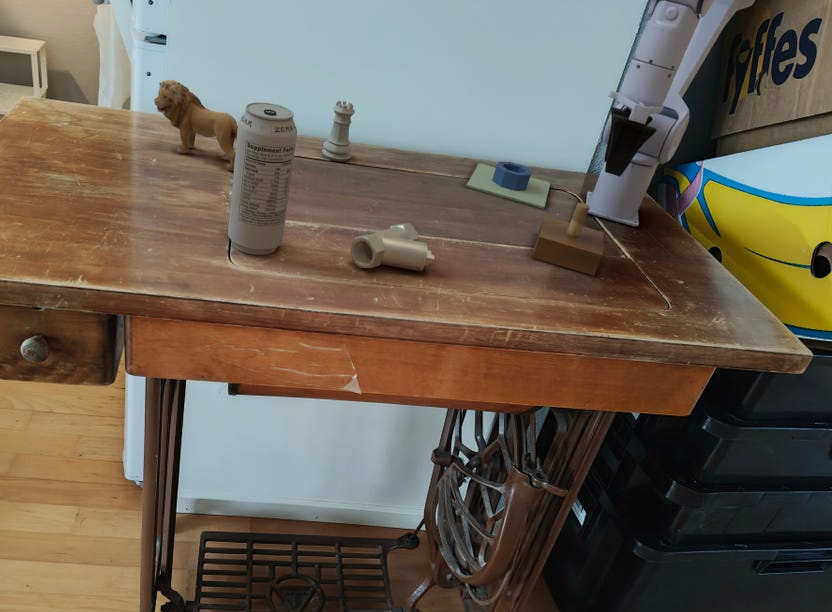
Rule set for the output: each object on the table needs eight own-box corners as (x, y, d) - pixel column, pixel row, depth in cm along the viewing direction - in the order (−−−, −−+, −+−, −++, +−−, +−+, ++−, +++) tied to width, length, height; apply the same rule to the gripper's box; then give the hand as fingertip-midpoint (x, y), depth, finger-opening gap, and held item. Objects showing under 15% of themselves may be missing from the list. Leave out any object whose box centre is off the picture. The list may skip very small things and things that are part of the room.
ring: (495, 173, 116) (499, 158, 115) (528, 183, 115) (533, 168, 114) (490, 183, 112) (495, 168, 110) (524, 193, 111) (529, 178, 109)
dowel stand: (537, 235, 99) (554, 186, 95) (595, 252, 98) (615, 204, 94) (531, 257, 92) (550, 206, 88) (594, 276, 91) (615, 225, 87)
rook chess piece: (347, 164, 108) (357, 110, 104) (318, 157, 108) (327, 103, 104) (352, 155, 112) (362, 103, 108) (324, 148, 112) (332, 96, 108)
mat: (478, 165, 119) (478, 162, 119) (549, 185, 118) (550, 182, 117) (466, 187, 110) (466, 184, 109) (543, 209, 108) (544, 206, 108)
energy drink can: (279, 235, 84) (296, 105, 76) (283, 259, 80) (302, 123, 71) (226, 230, 83) (238, 97, 75) (227, 254, 78) (240, 115, 70)
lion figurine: (146, 147, 99) (148, 80, 94) (166, 138, 104) (168, 73, 99) (245, 176, 97) (252, 109, 92) (261, 165, 102) (268, 100, 97)
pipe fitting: (434, 273, 85) (391, 245, 87) (444, 244, 82) (400, 216, 85) (392, 290, 79) (347, 260, 82) (401, 260, 77) (356, 230, 80)
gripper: (622, 52, 99) (584, 150, 106) (626, 59, 87) (582, 169, 93) (673, 67, 98) (631, 165, 105) (685, 76, 86) (636, 186, 92)
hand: (611, 168), depth 99 cm, fingers open, 7 cm apart
